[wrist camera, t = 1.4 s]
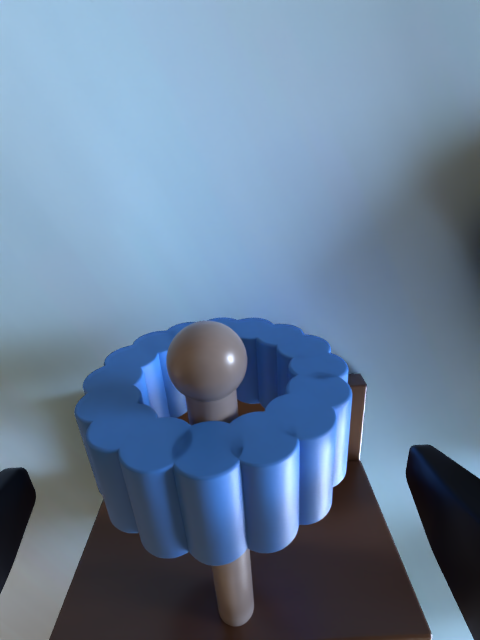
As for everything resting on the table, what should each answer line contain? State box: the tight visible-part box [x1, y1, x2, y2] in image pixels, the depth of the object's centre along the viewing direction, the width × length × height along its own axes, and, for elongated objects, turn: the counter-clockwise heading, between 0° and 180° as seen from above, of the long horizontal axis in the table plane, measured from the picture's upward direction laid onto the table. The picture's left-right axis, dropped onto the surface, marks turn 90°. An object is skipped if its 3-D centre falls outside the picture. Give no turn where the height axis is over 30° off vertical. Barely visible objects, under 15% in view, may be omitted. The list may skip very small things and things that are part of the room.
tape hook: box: [49, 321, 432, 640], centre depth 13 cm, size 14×12×8 cm
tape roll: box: [74, 318, 352, 566], centre depth 10 cm, size 3×7×7 cm, turn 93°
